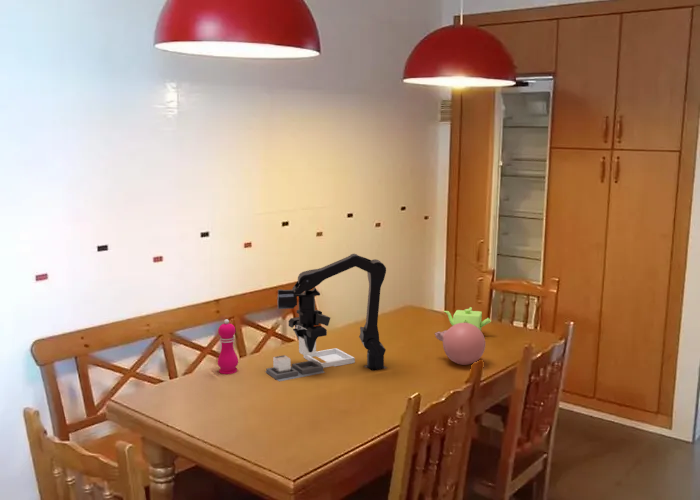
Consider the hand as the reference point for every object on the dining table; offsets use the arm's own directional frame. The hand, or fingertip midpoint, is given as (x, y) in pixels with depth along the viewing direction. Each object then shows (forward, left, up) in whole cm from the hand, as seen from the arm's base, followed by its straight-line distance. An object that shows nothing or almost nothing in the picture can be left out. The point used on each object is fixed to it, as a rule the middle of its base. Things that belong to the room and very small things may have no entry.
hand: (307, 350), depth 263 cm
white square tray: (+6, -12, -8) cm, 16 cm away
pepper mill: (+13, +25, -8) cm, 29 cm away
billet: (0, +10, -7) cm, 12 cm away
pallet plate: (0, +5, -8) cm, 10 cm away
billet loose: (0, 0, -1) cm, 1 cm away
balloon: (-19, -53, -8) cm, 57 cm away
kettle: (+8, -79, -8) cm, 80 cm away
